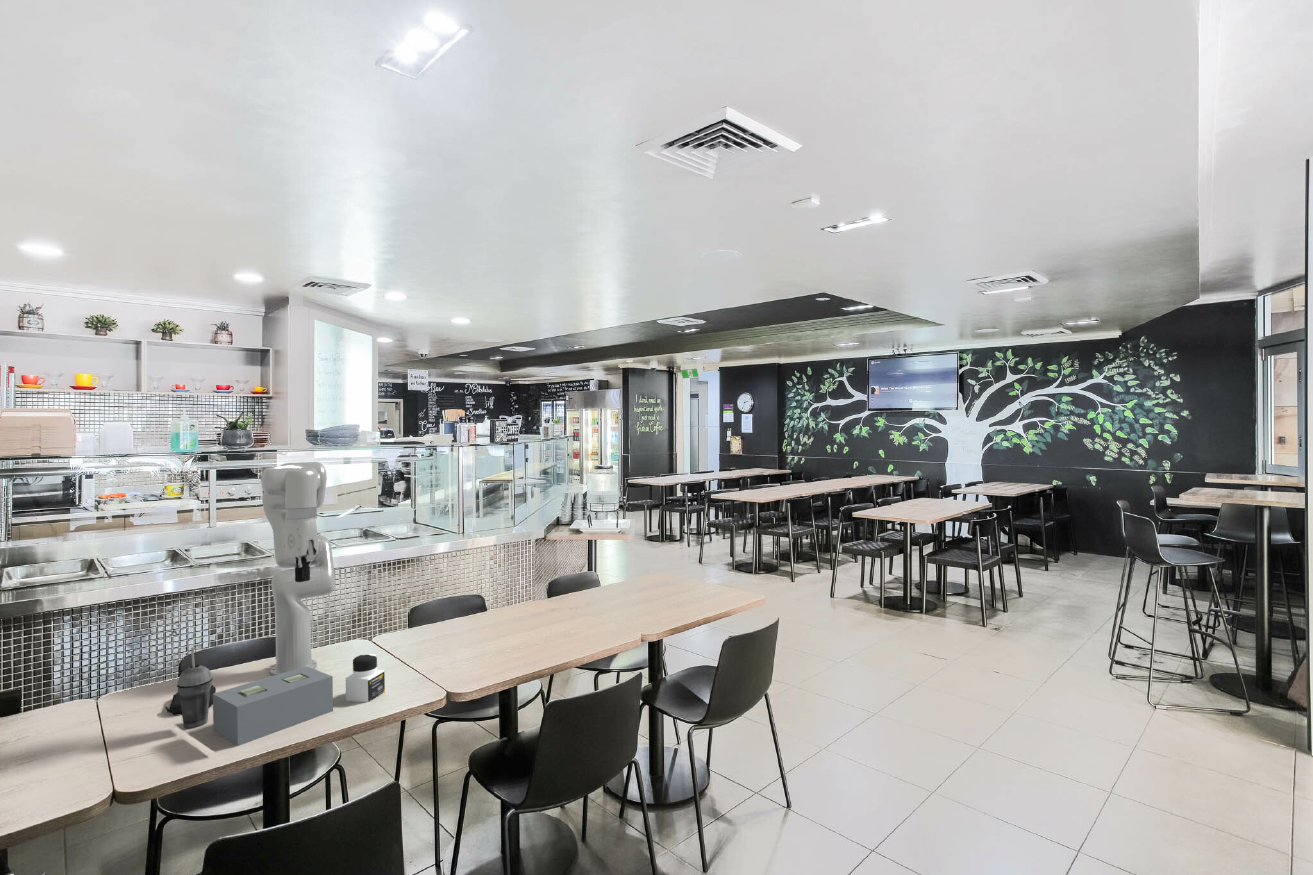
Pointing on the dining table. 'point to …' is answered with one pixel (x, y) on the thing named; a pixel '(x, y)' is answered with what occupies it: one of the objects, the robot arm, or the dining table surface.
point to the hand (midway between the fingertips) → (302, 580)
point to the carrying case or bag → (176, 703)
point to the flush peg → (294, 678)
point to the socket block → (272, 705)
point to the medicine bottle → (365, 679)
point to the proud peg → (252, 691)
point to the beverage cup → (195, 694)
